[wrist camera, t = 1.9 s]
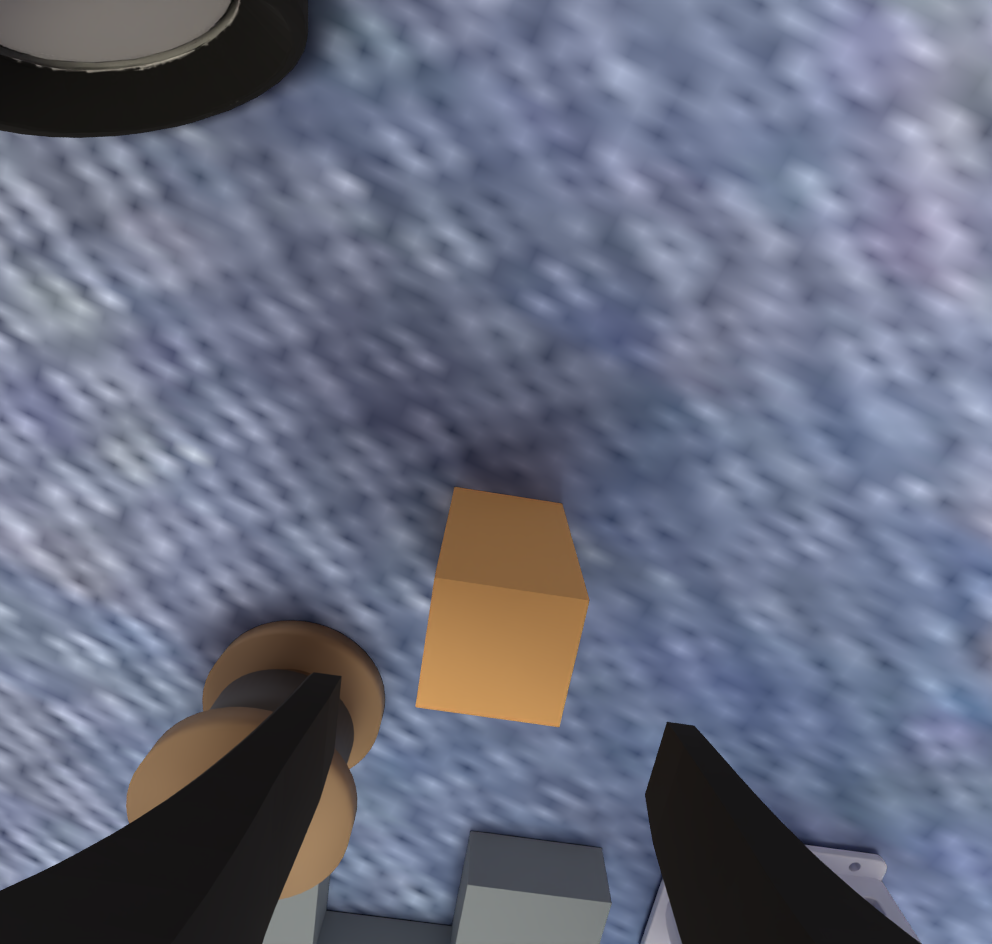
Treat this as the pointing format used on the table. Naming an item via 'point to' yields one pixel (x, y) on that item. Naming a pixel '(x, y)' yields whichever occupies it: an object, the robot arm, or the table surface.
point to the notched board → (477, 901)
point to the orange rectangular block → (503, 611)
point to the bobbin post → (248, 702)
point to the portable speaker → (139, 61)
